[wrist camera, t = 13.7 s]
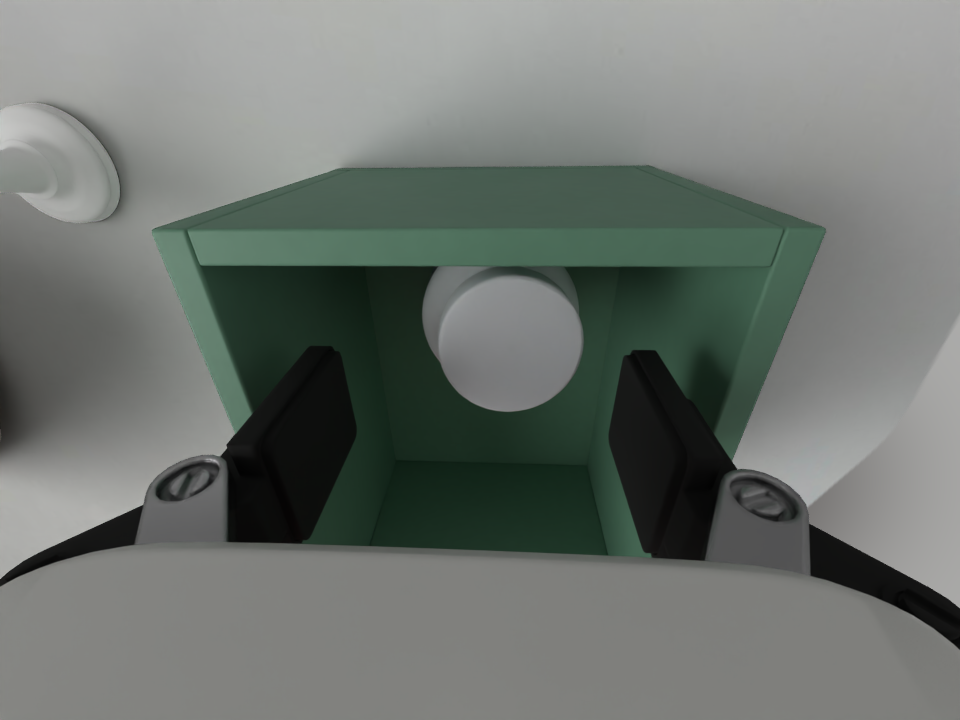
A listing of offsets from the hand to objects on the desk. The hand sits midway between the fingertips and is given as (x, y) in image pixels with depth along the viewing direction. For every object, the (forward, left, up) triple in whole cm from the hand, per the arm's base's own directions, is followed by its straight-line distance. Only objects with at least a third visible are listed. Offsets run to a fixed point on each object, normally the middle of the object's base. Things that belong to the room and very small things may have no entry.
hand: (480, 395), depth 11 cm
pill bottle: (0, 0, -9) cm, 9 cm away
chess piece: (-5, -20, -11) cm, 23 cm away
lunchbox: (+4, 0, -10) cm, 11 cm away
